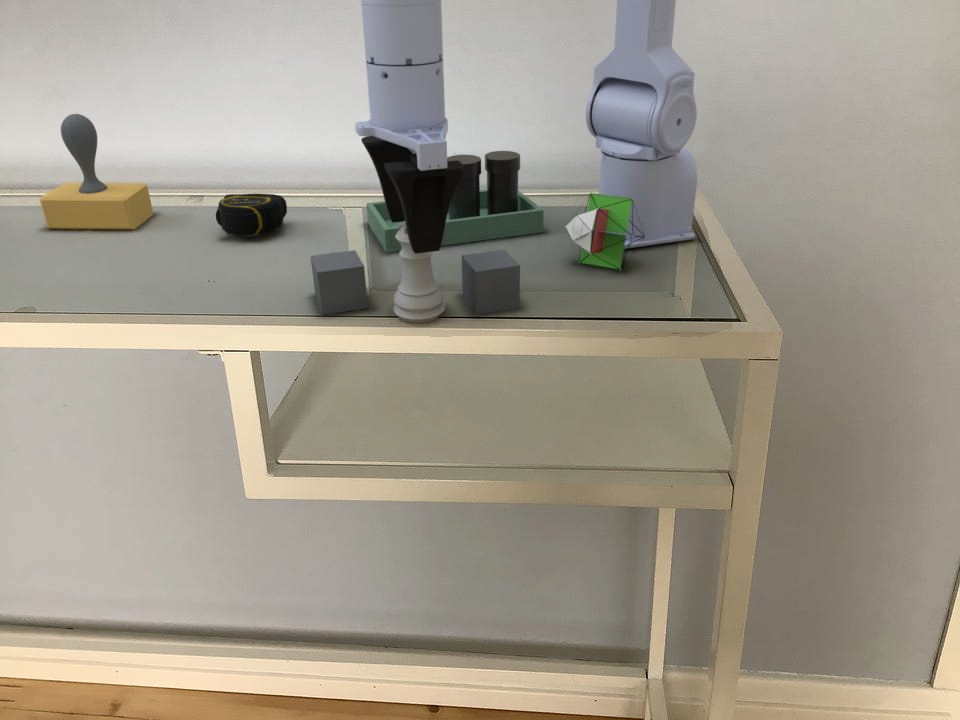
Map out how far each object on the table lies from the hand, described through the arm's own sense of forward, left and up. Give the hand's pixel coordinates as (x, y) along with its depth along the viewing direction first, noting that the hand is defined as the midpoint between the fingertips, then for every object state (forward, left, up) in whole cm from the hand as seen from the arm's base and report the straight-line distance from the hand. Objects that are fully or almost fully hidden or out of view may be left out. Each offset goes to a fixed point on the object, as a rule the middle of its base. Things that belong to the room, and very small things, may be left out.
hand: (414, 234), depth 67 cm
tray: (-9, -19, -7) cm, 23 cm away
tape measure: (+12, -27, -7) cm, 30 cm away
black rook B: (-10, -19, -7) cm, 23 cm away
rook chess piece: (0, 0, -7) cm, 7 cm away
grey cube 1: (+6, -4, -7) cm, 10 cm away
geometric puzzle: (-20, -5, -7) cm, 22 cm away
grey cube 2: (-7, 0, -7) cm, 10 cm away
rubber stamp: (+28, -36, -7) cm, 46 cm away
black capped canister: (-15, -19, -7) cm, 25 cm away
